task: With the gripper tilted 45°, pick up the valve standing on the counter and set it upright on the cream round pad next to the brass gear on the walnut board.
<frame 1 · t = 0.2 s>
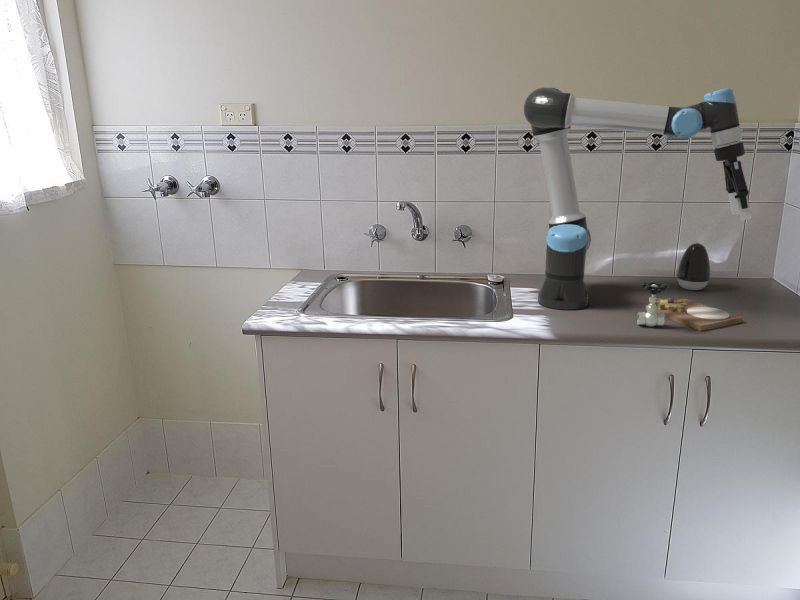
hand: (741, 216, 185), 27 cm above the worktop, tool tilted 15°, fingers open, 13 cm apart
valve: (649, 326, 177), on the worktop
black egg-shaped capsule: (691, 288, 212), on the worktop
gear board: (692, 316, 184), on the worktop
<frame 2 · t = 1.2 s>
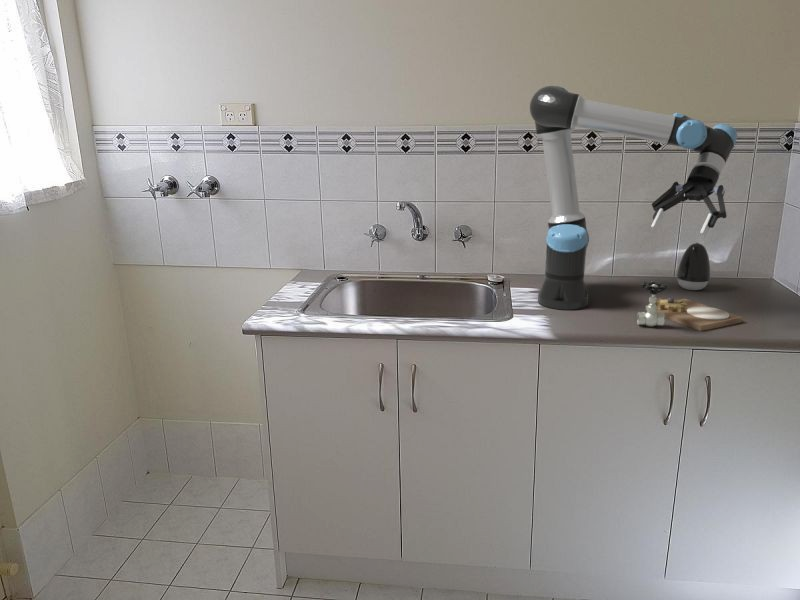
hand: (677, 232, 177), 25 cm above the worktop, tool tilted 45°, fingers open, 13 cm apart
nothing on the worktop moved.
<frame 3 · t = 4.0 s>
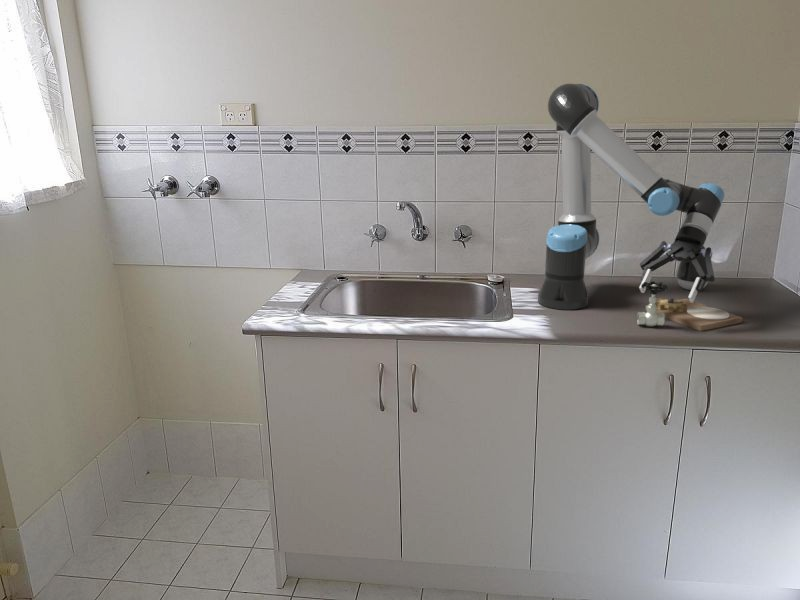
hand: (665, 295, 176), 8 cm above the worktop, tool tilted 45°, fingers open, 13 cm apart
nothing on the worktop moved.
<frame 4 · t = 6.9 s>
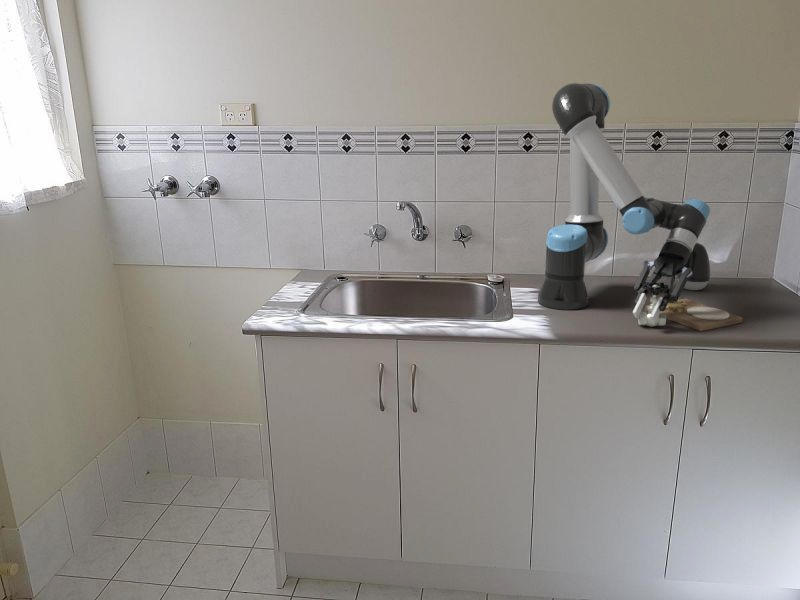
hand: (643, 317, 173), 4 cm above the worktop, tool tilted 45°, fingers closed on valve, 4 cm apart
valve: (650, 326, 177), on the worktop, touching gripper
everything else where it was.
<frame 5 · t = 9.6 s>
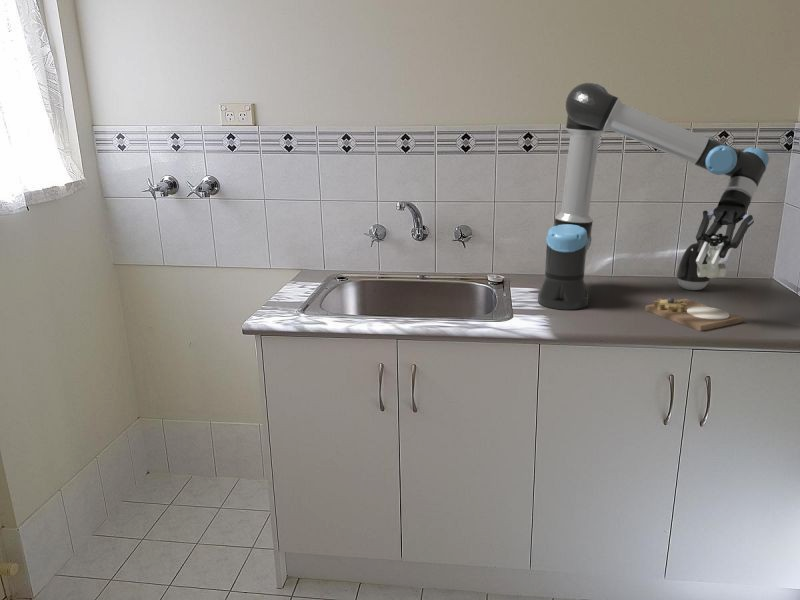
hand: (705, 264, 174), 17 cm above the worktop, tool tilted 45°, fingers closed on valve, 3 cm apart
valve: (710, 278, 178), point 12 cm above the worktop, touching gripper
everything else where it was.
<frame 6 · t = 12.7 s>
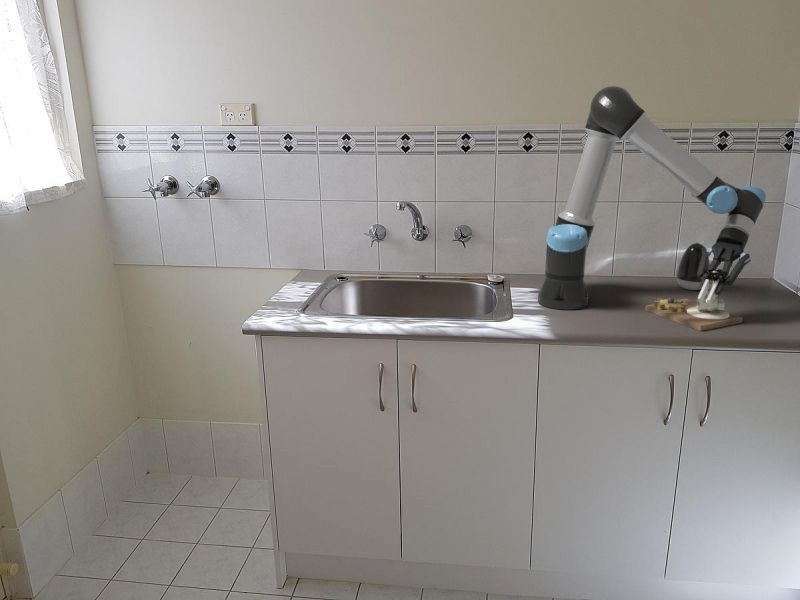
hand: (704, 301, 178), 6 cm above the worktop, tool tilted 45°, fingers closed
valve: (709, 312, 182), point 2 cm above the worktop, touching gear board, gripper
everything else where it was.
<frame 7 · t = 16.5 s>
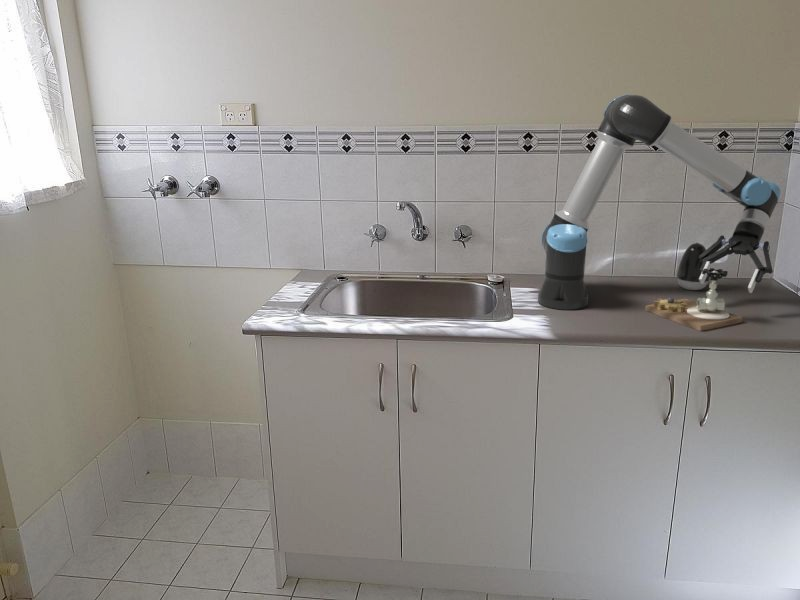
hand: (724, 285, 186), 8 cm above the worktop, tool tilted 45°, fingers open, 13 cm apart
valve: (709, 312, 182), point 2 cm above the worktop, touching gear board
everything else where it was.
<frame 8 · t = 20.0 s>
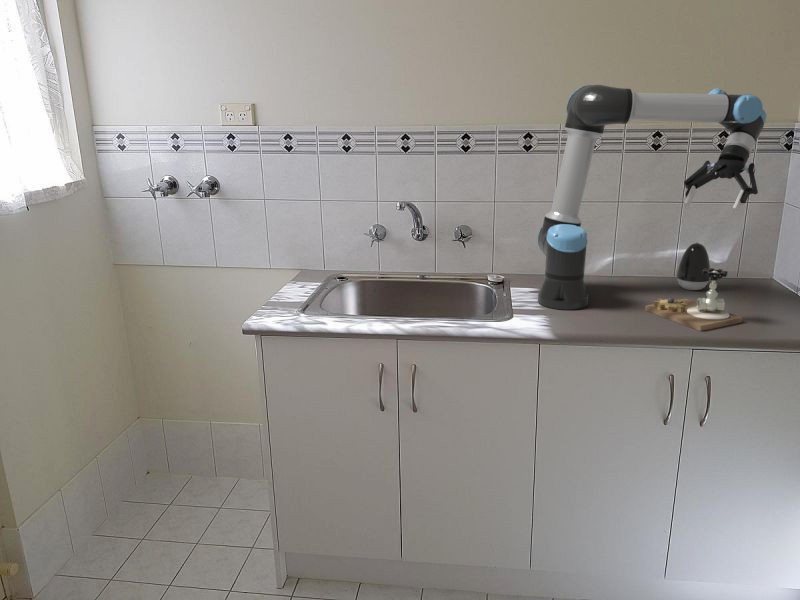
hand: (709, 208, 184), 30 cm above the worktop, tool tilted 45°, fingers open, 13 cm apart
nothing on the worktop moved.
at the end: valve inside the target area on the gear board (1.1 cm from its centre), point 1.7 cm above the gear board's base; valve tilted 0°; the gripper is holding nothing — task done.
